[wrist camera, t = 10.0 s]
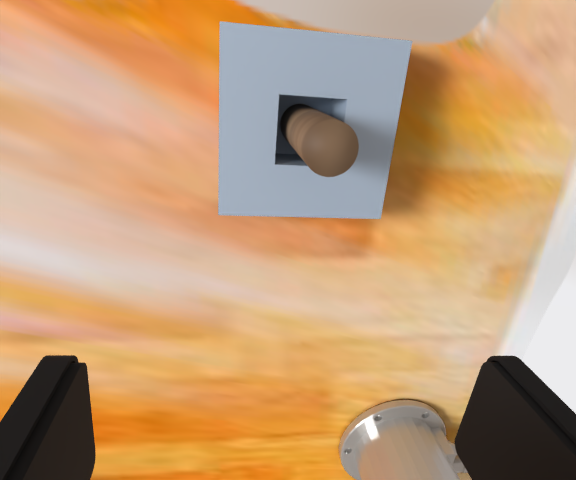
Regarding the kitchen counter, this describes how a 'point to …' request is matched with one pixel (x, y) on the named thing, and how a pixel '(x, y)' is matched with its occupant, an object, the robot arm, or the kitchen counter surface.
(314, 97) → the hole block
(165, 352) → the kitchen counter surface
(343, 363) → the kitchen counter surface
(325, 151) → the peg
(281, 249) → the kitchen counter surface
